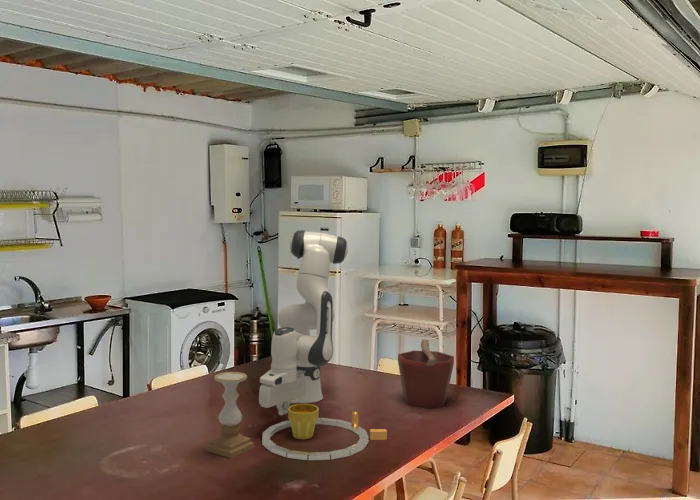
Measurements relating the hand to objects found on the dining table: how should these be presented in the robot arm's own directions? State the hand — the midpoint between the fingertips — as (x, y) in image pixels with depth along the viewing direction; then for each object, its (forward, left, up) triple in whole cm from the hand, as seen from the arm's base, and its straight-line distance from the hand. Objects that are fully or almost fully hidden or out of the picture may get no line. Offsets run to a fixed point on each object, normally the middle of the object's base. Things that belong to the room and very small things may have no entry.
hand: (283, 414), depth 218 cm
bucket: (+20, +61, -6) cm, 64 cm away
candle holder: (0, -24, -6) cm, 25 cm away
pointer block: (+30, +15, -6) cm, 34 cm away
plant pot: (+9, 0, -6) cm, 11 cm away
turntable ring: (+15, 0, -5) cm, 16 cm away
